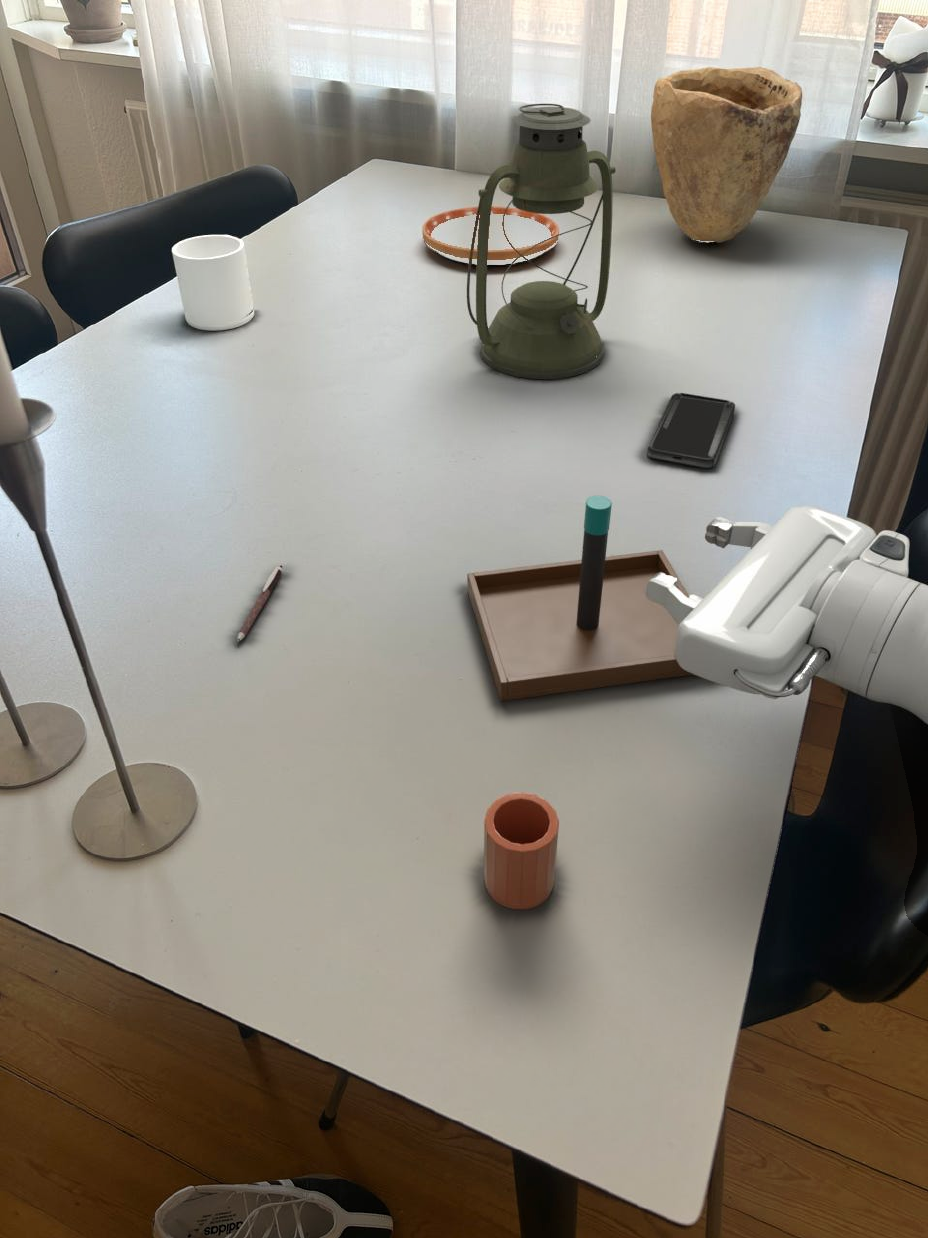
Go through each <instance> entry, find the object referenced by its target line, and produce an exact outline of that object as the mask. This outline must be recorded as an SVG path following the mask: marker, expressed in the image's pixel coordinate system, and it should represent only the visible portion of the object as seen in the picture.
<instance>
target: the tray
mask: <svg viewBox="0 0 928 1238" xmlns="http://www.w3.org/2000/svg"><path fill="white" fill-rule="evenodd" d="M581 562H582V559H577V560H576V559H575V560H568V561H560V562H552V563H551V562H550V563H543V564H535V565H526V566H519V567H509V568H501V569H492V570H485V571H477V572H468V573H467V575H466V577H467V579H466V580H467V581H466V582H467V589H466V591H467V594H468V597H469V600H470V604H471V607H472V610H473V613H474V617H475V620H476V624H477V627H478V631H479V634H480V636H481V640H482V643H483V647H484V650H485V654H486V657H487V661H488V663H489V667H490V670H491V673H492V677H493V680H494V683H495V687H496V690H497V694H498V696H499V700H500V701H501V702H503V701H512V700H519V699H525V698H526V699H527V698H531V697H532V698H533V697H539V696H548V695H555V694H561V693H569V692H577V691H584V690H590V689H597V688H605V687H612V686H620V685H626V684H634V683H642V682H649V681H656V680H662V679H663V680H664V679H670V678H678V677H684V676H691V675H692V676H693V674H692V673H690V672H688V671H686V670H684V669H683V668H681V667H680V665H679V664H678V662H677V660H676V659H675V657H674V649H675V642H676V637H677V632H678V628H679V625H678V624H677V623H676V621H675V620H674V619H673V618H672V616H671V615H670V614H669V613H668V611H667V610H666V609H665V607H664V606H662V605H660V604H658V603H655V602H653V601H651V600H649V599H648V598H647V597H646V594H645V593H646V586H647V583H648V582H649V581H650V580H651V579H652V578H653V577H654V576H655V575H656V574H657V573H659V572H662V573H665V574H666V576H672V577H674V578H677V579H678V581H677V588H678V589H679V590H680V591H681V592H682V593H683V594H684V595H685V596H686V597H687V598H688V597H689V596H690V595H689V594H688V592H687V589H685V586H684V585H683V583H682V582H681V579H680V578H679V576H678V575H677V573H676V571H675V569H674V567H673V566H672V564H671V563H670V560H669V559H668V558H667V556H666V554H665V552H664V551H663V549H659V550H651V551H643V552H634V553H625V554H618V555H611V556H610V555H609V556H606V558H605V568H604V577H603V587H602V597H601V606H600V616H599V625H598V627H597V628H596V629H594V630H583V629H581V628H579V627H578V626H577V623H576V622H577V610H578V598H579V586H580V574H581Z"/></svg>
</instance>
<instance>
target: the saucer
mask: <svg viewBox="0 0 928 1238" xmlns="http://www.w3.org/2000/svg"><path fill="white" fill-rule="evenodd" d="M506 208H507V206H493V205H492V207H491V213H493V214H504V212H505V210H506ZM477 211H478V206H469V207H461V208H455V209H451V210H447V211H443V212H439V213H437V214H435V215H433V216H431V217H430V218H428V219H427V220H425V222H424V223H423V224H422V229H421V233H422V240H423V239H424V241H425V242H426V243H427V244H428V245H429V246H431V247H432V248H434V249H436V250H438V251H440V252H443V253H445V254H449V255H453V256H455V257H460V258H468V259H469V258H470V251H471V249H469V248H462V247H457V246H452V245H448V244H445V243H442V242H440V241H437V240H435V239H434V238H432V237H431V233H432V231H433V230H434V228H435V227H437V226H438V225H439V224H441V223H444V222H446V221H448V220H451V219H455V218H459V217H464V216H470V215H474V214H476V215H477ZM505 214H506V215H514V216H520V217H524V218H529V219H533V220H535V221H537V222H539V223H541V224H543V225H545V226H546V227H547V228H548V229H549V230H550V232H551V236H552V237H554V236H556V235H559V234H560V228H559V225H558V224H557V223H556V221H554V220H553V219H552V218H550V217H549V216H546V215H545V214H539V213H531V212H526V211H523V210H520V209H518V208H516V207H510V206H509V207H508V209H507V211H506V213H505ZM557 240H558V241H559V237H558V236H557V237H554V238H552V239H550V240H547V241H545V242H543V243H541V244H539V245H537V246H535V245H536V244H535V245H532V246H527V247H522V248H516V250H517V251H518V252H519V253H520V254H522V253H524V252H525V251H526V250H528V249H530V248H531V247H533V246H535V247H534V248H532V249H530V250H529V251H527V252H526V253H524V254H523V255H522V256H528V255H531V254H534V253H537V252H540V251H543V250H546V249H547V248H549V247H550V246H552V245H553V244H554V243H556V241H557ZM424 241H423V242H424ZM519 256H520V255H519V254H518V253H517V252H516V251H515V250H514V249H505V250H488V257H487V260H506V259H513V258H517V257H519ZM520 257H521V256H520ZM520 257H519V258H520ZM472 259H477V249H473V256H472Z"/></svg>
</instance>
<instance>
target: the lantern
mask: <svg viewBox="0 0 928 1238" xmlns="http://www.w3.org/2000/svg"><path fill="white" fill-rule="evenodd" d="M540 106H541V107H540ZM530 107H533V108H530ZM525 108H529V109H525ZM518 109H519V110H518V111H520V112H521V113H520V114H518V115H516V116H514V117H513V118H512V122H513V123H514V124H515V125H517V126H519V137H518V139H517V140H515V143H514V146H513V150H512V154H511V158H510V163H509V164H507V165H502V166H500V167H498V168H496V169H495V170H494V171H493V172H492V173H491V174H490V176H489V178H488V179H487V180H486V184H485V187H484V188H481V189H478V192H477V193H478V196H479V201H478V205H477V207H478V211H477V216H476V221H475V227H474V232H473V238H472V244H471V251H470V258H469V264H468V267H467V277H466V305H467V310H468V315H469V317H470V319H471V321H472V322H473V323H474V324H475V325H476V328H477V333H478V337H479V339H480V341H481V342H480V348H479V349H480V350H479V353H480V356H481V359H482V360H483V362H485V363H486V365H488V366H489V367H491V368H493V369H494V370H495V371H498V372H500V373H503V374H506V375H509V376H514V377H517V378H524V379H530V380H531V379H533V380H556V379H557V380H558V379H565V378H569V377H575V376H578V375H581V374H584V373H587V372H589V371H591V370H593V369H594V368H596V367H597V366H598V365H599V364H600V363H601V362H602V360H603V358H604V355H605V354H604V353H605V347H604V343H603V341H602V339H601V338H602V337H601V336H600V333H599V331H598V329H597V327H596V326H595V323H594V321H595V320H597V319H598V317H600V315H601V313H602V311H603V309H604V306H605V304H606V300H607V299H606V298H607V293H608V286H609V280H610V279H609V277H610V267H611V252H612V232H613V204H614V203H613V198H614V197H613V196H614V195H613V177H612V175H613V174H615V173H616V166H614V165H612V166H611V164H610V162H609V159H608V157H607V156H606V155H605V154H604V153H603V152H602V151H599V150H589V151H588V148H587V147H588V146H587V143H586V141H585V140H583V129H584V128H583V127H585V126H586V125H589V124H590V123H591V118H590V117H589V116H587V115H585V114H583V113H582V112H581V111H580V110H577V109H574V108H570V107H565V106H563V105H561V104H557V103H532V104H526V105H522V106H520V107H519V108H518ZM524 109H525V110H524ZM590 164H595V165H597V167H598V169H599V172H600V178H601V187H602V188H601V189H602V193H601V196H600V199H599V201H598V204H597V207H596V209H595V213H594V216H593V217H592V220H591V218H589V217H586V216H584V215H582V214H580V213H576V212H575V211H577V210H580V209H581V208H583V207H584V205H585V198H587V197H589V196H592V195H593V194H595V193H596V192H597V191H598V190H599V188H600V186H599V183H598V182H597V181H596V180H595V179H594V178H593V177H592V176H591V174H590ZM497 187H498V188H499V190H500V191H501V192H503V194H505V195H508V196H511V197H512V199H511V200H510V202H509V203H508V205H507V206H506V207H507V208H506V210H505V212H504V215H503V222H502V226H503V231H504V235H505V237H506V239H507V241H508V242H509V240H508V238H507V236H506V234H505V230H504V216H505V213H506V211H507V209H508V207H510V205H511V204H512V207H514V208H518V209H520V210H523V211H526V212H531V213H539V214H542V215H558V214H566V213H567V214H568V213H571V214H573V215H576V216H579V217H581V218H583V219H586V220H587V221H589V222H590V223H588V224H585V225H582V226H579V227H577V228H574V229H571V230H568V231H563V232H561V233H559V235H556V236H554V237H557V236H559V237H560V236H562V235H564V234H568V233H571V232H574V231H577V230H581V229H583V228H586V227H589V228H588V230H587V233H586V234H585V235H586V236H585V238H584V241H583V242H582V245H581V247H580V250H579V252H578V254H577V257H576V259H575V261H574V263H573V264H572V267H571V269H570V271H569V272H568V274H567V276H566V278H565V277H562V276H560V275H558V274H555V273H553V272H550V271H548V270H546V269H544V268H542V267H540V266H539V265H538V264H535V263H534V262H532V261H531V260H530V261H529V260H528V259H526V258H525V257H524V256H522V255H523V254H524V253H526V252H527V251H529V250H530V249H532V248H534V247H535V246H537V245H539V244H541V243H543V242H545V241H547V240H550V239H552V238H554V237H551V238H549V239H547V240H544V241H542V242H540V243H538V244H536V245H535V246H533V247H531V248H530V249H528V250H526V251H525V252H524V253H522V254H520V253H519V252H518V251H517V250H516V249H515V248H514V247H513V246H512V244H511V243H510V242H509V244H510V245H511V247H512V248H513V249H514V250H515V251H516V252H517V253H518V254H519V255H520V256H521V257H523V258H524V259H525V260H527V262H528V263H530V264H531V265H533V266H534V267H536V268H537V269H540V270H541V271H543V272H546V273H548V274H550V275H552V276H554V277H557V278H560V279H562V280H564V281H563V283H561V282H557V281H551V280H550V281H549V280H537V281H536V280H535V281H530V282H526V283H524V284H522V285H520V286H518V287H516V288H515V289H514V290H513V291H511V293H510V302H507V301H506V298H505V295H504V281H505V278H506V275H507V274H508V271H509V270H510V268H512V265H514V264H513V263H514V262H515V261H516V260H517V259H518V258H519V257H520V256H519V257H517V258H516V259H515V260H514V261H513V262H512V264H511V265H508V267H507V268H506V271H505V272H504V274H503V277H502V281H501V294H502V298H503V301H504V303H505V305H503V306H502V307H501V308H499V309H498V310H497V312H496V315H494V317H493V320H491V321H492V322H491V323H490V325H489V326H488V318H487V317H488V316H487V315H488V314H487V282H488V280H487V279H488V278H487V277H488V266H487V257H488V239H489V226H490V215H491V207H492V206H493V203H494V202H493V200H494V197H495V192H496V190H497ZM601 205H602V220H601V221H602V224H601V225H602V226H601V248H600V249H601V250H600V267H599V268H600V269H599V278H598V279H599V281H598V289H597V296H596V301H595V304H594V307H593V310H592V311H591V312H589V311H588V309H587V308H588V298H587V297H586V298H585V300H584V304H583V303H582V304H581V303H579V302H578V301H579V297H578V294H577V292H578V291H582V290H583V291H584V290H586V289H588V288H589V287H588V285H586V284H583V283H580V282H576V281H573V280H571V279H570V277H571V275H572V274H573V272H574V270H575V267H576V266H577V263H578V261H579V260H580V257H581V255H582V253H583V250H584V248H585V246H586V242H587V241H588V239H589V236H590V234H591V231H592V230H593V229H592V228H593V226H594V224H595V221H596V219H597V216H598V213H599V211H600V207H601ZM479 215H480V218H479ZM478 220H479V229H478V245H477V265H476V268H475V269H476V270H475V271H476V273H475V274H476V275H475V276H476V277H475V317H476V318H475V317H474V313H473V311H472V306H471V300H470V299H471V298H470V286H471V285H470V284H471V272H472V265H471V264H472V256H473V249H474V243H475V237H476V231H477V226H478ZM568 282H569V283H570V282H571V283H573V284H577V285H580V286H582V287H583V286H584V287H583V288H578V289H572V288H571V287H569V286H567V285H566V284H567V283H568ZM488 327H489V328H488ZM483 344H484V345H483ZM596 356H597V357H596Z"/></svg>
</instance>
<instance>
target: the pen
mask: <svg viewBox="0 0 928 1238" xmlns="http://www.w3.org/2000/svg"><path fill="white" fill-rule="evenodd" d="M282 573H283V565H282V564H281V565H279V566H276V567H275V568H274V570H272V572H271V574H270V576H269V577H268V578H267V580H266V582H265V584H264V586H263V589H262V591H261V592H260V594H259V596H258V597H257V599H256V601H255V603H254V605H253V607H252V608H251V610H250V611H249V613H248V615H247V617H246V619H245V621H244V622H243V624H242V626H241V628H240V629H239V631H238V634H237V638H236V639H237V642H240V641H242V640H243V639H244V638H245V637H246V635H247V634H248V632H249V631H250V629H251V627H252V626H253V624H254V622H255V620H256V618H257V617H258V615H259V613H260V612H261V610H262V608H263V607H264V605H265V604H266V602H267V600H268V599H269V597H270V595H271V593H272V591H273V590H274V588H275V586H276V584H277V583H278V581H279V579H280V577H281V575H282Z"/></svg>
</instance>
